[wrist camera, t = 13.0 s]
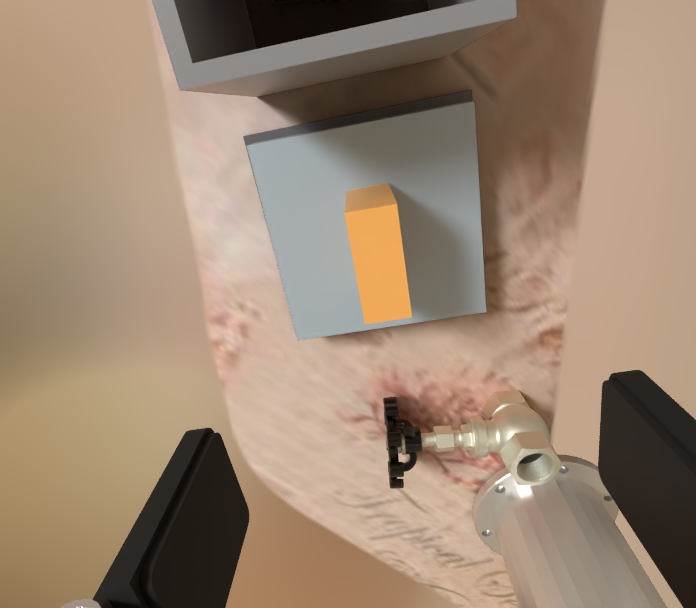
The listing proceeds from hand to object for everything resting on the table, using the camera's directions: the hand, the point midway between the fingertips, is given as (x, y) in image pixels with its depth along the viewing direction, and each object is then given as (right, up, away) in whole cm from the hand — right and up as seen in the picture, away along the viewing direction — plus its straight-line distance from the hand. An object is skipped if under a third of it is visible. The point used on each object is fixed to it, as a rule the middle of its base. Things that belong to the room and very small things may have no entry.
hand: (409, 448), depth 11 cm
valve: (+7, -5, +25) cm, 27 cm away
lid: (0, +9, +18) cm, 20 cm away
